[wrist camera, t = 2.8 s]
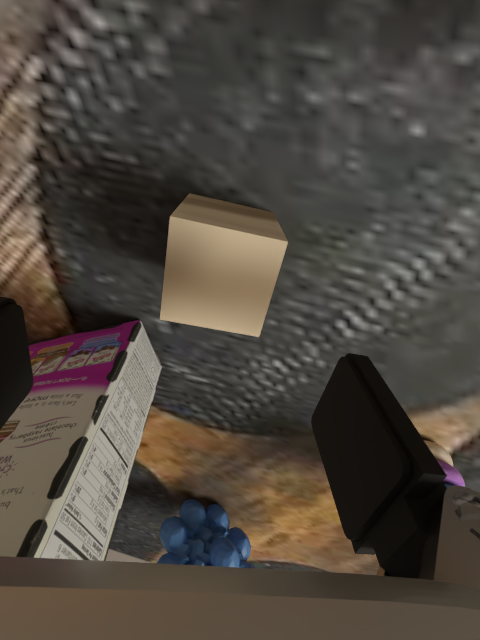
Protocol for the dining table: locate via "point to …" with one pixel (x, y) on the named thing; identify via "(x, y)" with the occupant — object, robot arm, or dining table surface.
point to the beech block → (221, 265)
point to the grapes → (203, 538)
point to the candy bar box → (75, 442)
